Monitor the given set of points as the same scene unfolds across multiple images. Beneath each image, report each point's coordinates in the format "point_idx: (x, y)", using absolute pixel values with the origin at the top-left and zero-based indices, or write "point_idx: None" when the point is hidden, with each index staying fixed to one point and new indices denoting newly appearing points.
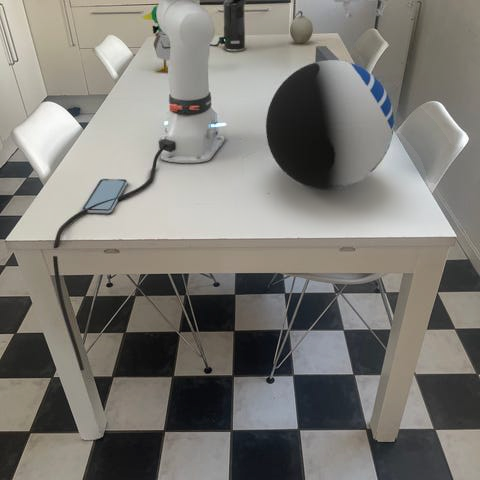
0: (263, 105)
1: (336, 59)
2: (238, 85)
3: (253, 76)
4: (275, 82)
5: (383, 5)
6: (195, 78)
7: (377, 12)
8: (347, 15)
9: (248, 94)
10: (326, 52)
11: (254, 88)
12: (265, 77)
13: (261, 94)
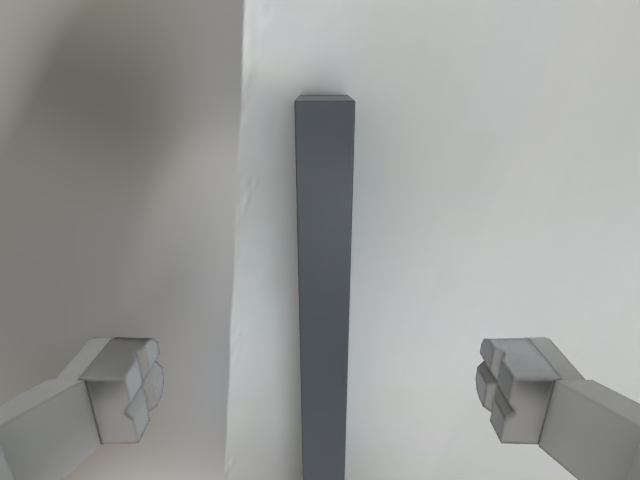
0: (631, 229)
1: (311, 460)
2: None
3: (553, 470)
4: None
5: (14, 437)
6: None
7: (142, 384)
8: (556, 353)
9: (635, 333)
10: None
11: (593, 379)
12: (520, 458)
13: (593, 326)
